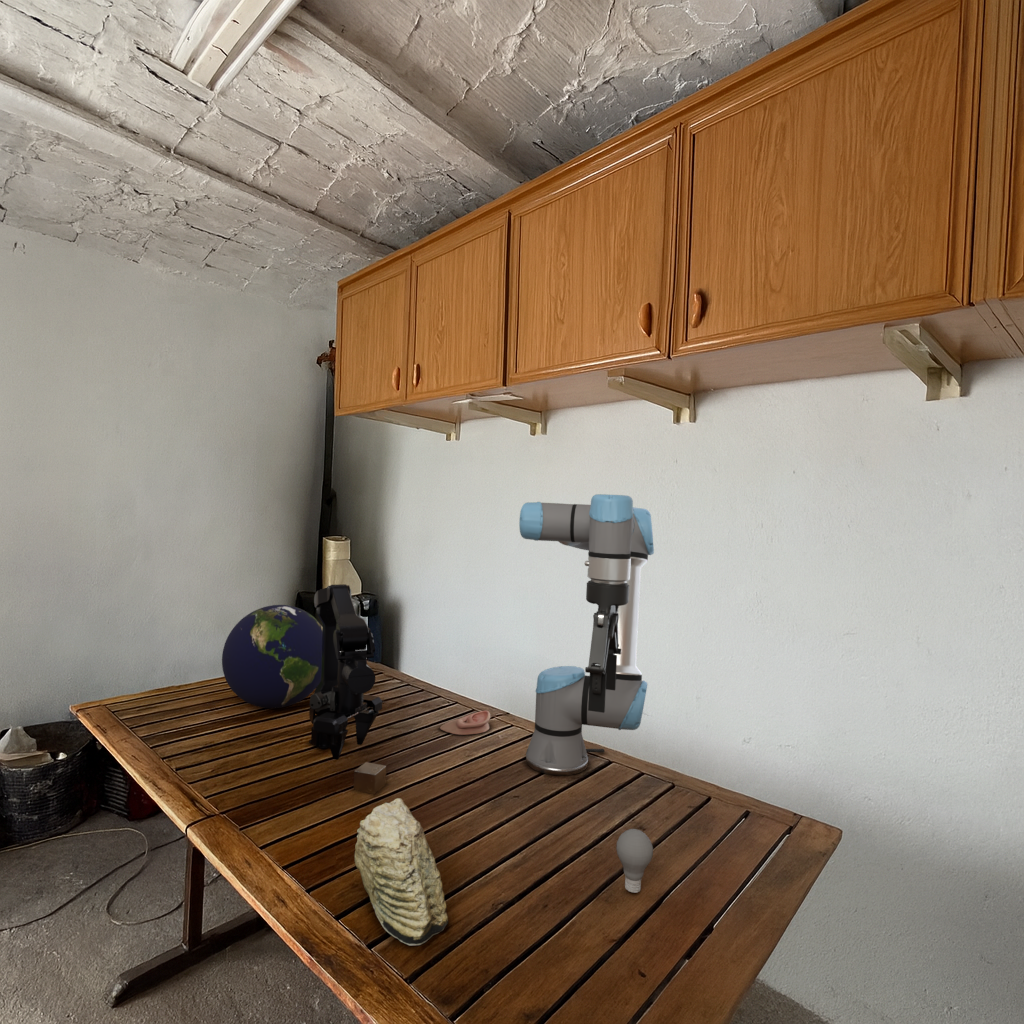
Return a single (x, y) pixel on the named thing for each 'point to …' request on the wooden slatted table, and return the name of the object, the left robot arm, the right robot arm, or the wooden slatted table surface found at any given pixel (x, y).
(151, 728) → the wooden slatted table surface
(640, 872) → the light bulb
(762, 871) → the wooden slatted table surface
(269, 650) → the globe
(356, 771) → the grey metal block
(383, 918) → the fossil
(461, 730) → the anatomical model
